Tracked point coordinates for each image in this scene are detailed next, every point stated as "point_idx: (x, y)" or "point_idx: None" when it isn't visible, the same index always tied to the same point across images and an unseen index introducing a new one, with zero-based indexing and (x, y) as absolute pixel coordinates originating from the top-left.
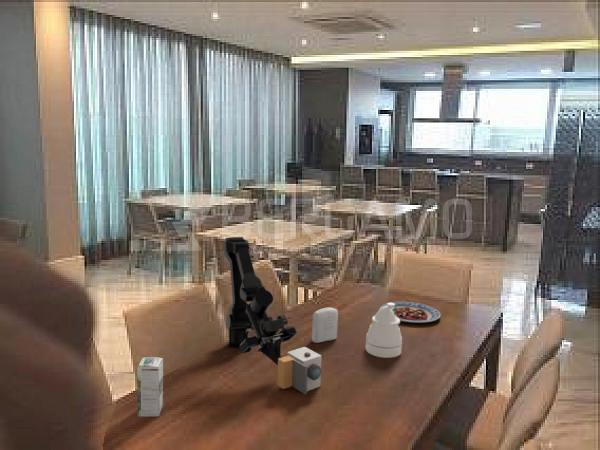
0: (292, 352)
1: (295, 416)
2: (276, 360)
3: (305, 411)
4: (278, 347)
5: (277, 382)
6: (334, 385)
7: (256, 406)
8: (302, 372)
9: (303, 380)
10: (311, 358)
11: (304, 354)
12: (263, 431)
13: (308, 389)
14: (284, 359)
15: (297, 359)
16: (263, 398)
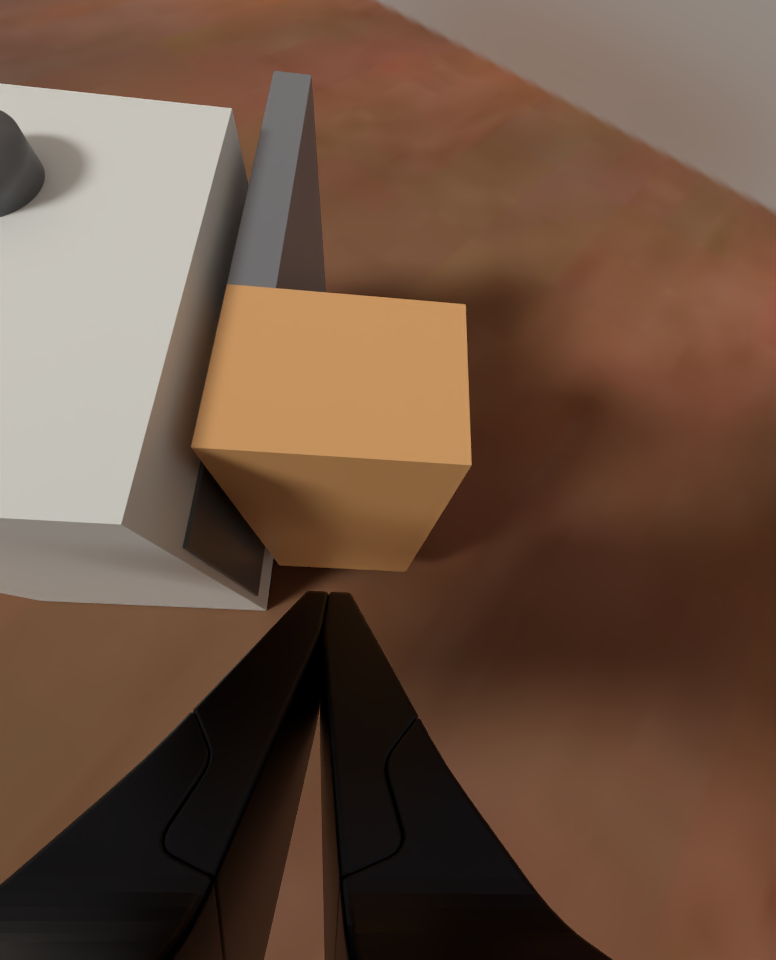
0: (49, 432)
1: (518, 257)
2: (372, 641)
3: (438, 255)
4: (132, 851)
5: (409, 563)
6: None
7: (678, 466)
8: (313, 211)
9: (321, 265)
10: (49, 95)
11: (5, 185)
12: (736, 267)
13: None
14: (389, 371)
15: (212, 243)
16: (585, 519)
